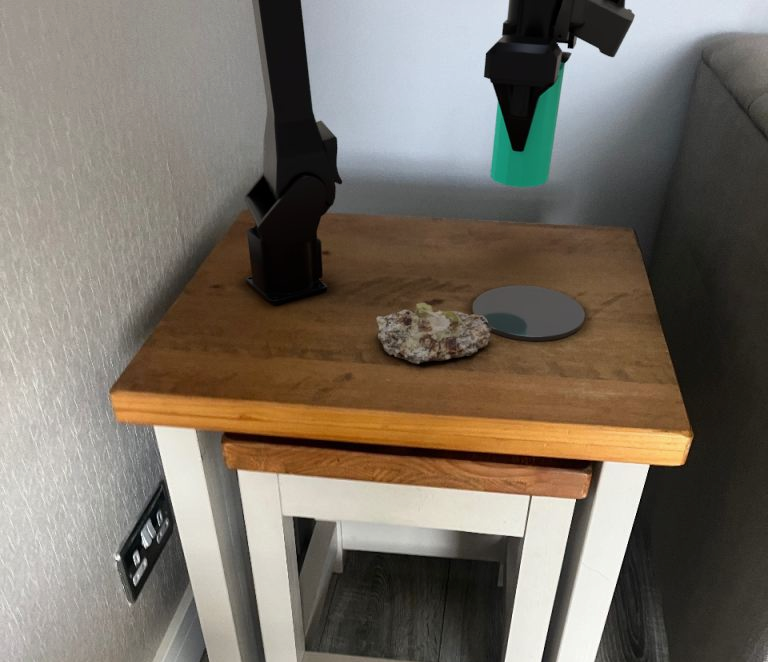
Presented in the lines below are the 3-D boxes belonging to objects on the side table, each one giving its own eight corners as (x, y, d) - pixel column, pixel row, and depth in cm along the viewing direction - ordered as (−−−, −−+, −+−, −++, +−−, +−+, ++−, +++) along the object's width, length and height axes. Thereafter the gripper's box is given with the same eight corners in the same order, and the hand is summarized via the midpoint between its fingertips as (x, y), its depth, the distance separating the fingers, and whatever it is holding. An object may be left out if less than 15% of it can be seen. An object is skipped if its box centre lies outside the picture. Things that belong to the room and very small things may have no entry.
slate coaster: (521, 352, 71) (522, 347, 71) (450, 306, 78) (450, 301, 78) (607, 322, 76) (608, 317, 76) (532, 281, 83) (533, 276, 83)
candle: (546, 169, 83) (564, 40, 75) (550, 188, 79) (570, 53, 71) (490, 167, 84) (502, 38, 76) (490, 185, 79) (504, 51, 71)
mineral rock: (376, 346, 67) (376, 283, 72) (374, 381, 71) (374, 319, 75) (499, 350, 68) (492, 287, 72) (491, 384, 71) (485, 322, 76)
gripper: (634, -30, 60) (595, 179, 70) (644, -54, 74) (611, 124, 84) (492, -37, 62) (475, 166, 73) (527, -59, 76) (508, 115, 86)
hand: (523, 141), depth 79 cm, fingers closed on candle, 6 cm apart
